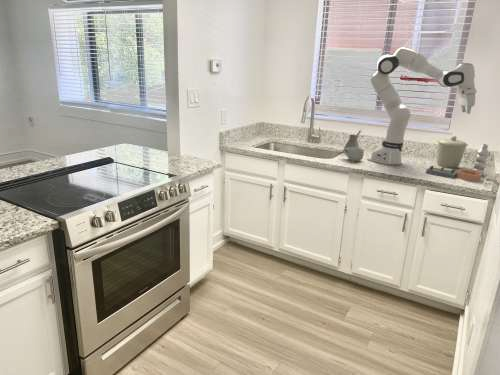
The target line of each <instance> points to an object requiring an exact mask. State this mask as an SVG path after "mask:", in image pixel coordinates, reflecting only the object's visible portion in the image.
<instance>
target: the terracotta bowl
mask: <svg viewBox="0 0 500 375" xmlns="http://www.w3.org/2000/svg"><path fill="white" fill-rule="evenodd" d="M481 175H482V174H481V173H479V172H476V171H473V169H472V170H470V169H458V171H457V174H456V178H458V179H460V180H462V181H467V182H480V181H481V178H482V176H481Z"/></svg>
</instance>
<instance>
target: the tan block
mask: <svg viewBox="0 0 500 375" xmlns="http://www.w3.org/2000/svg"><path fill="white" fill-rule="evenodd" d="M433 166H434V167H433V169H432V170H433V171H439V172H441V169H442V166H437V167H436V165H433Z"/></svg>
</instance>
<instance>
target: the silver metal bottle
mask: <svg viewBox="0 0 500 375" xmlns="http://www.w3.org/2000/svg"><path fill="white" fill-rule="evenodd" d="M480 145H481V146H480V148H479V149H478V151H476V159H475V164H474V166H473V169H472V171H476V172H479V173H481V174H482V175H481V177H484V175H485V169H486V168H485V166H486V163H487V159H488V157H489V154H490V152H489V150H488V148H489V145H488V144H485V143H482V144H480Z"/></svg>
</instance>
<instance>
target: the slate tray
mask: <svg viewBox="0 0 500 375" xmlns="http://www.w3.org/2000/svg"><path fill="white" fill-rule="evenodd" d="M434 166H436V165H430V166H429V167H427V169H426V171H425V173H426V174H430V175H435V176H439V177H444V178H449V179H454V178H455V177H457V174H458V171H459V169H455V168H451V169H452V173H451V174H449V173H444V172H443V169H444V168H445V167H442V166H441V167H442V169H441V172H439V171H433V170H432V169H433V167H434ZM436 167H438V165H437V166H436Z"/></svg>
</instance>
